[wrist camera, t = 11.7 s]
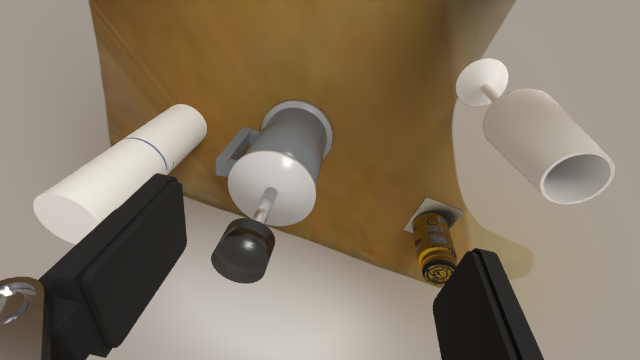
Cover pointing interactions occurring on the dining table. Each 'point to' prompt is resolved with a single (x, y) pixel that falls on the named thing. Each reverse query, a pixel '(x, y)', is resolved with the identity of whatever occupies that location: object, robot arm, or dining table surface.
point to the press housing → (278, 161)
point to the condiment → (434, 239)
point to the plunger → (247, 244)
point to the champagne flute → (536, 135)
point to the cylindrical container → (119, 173)
